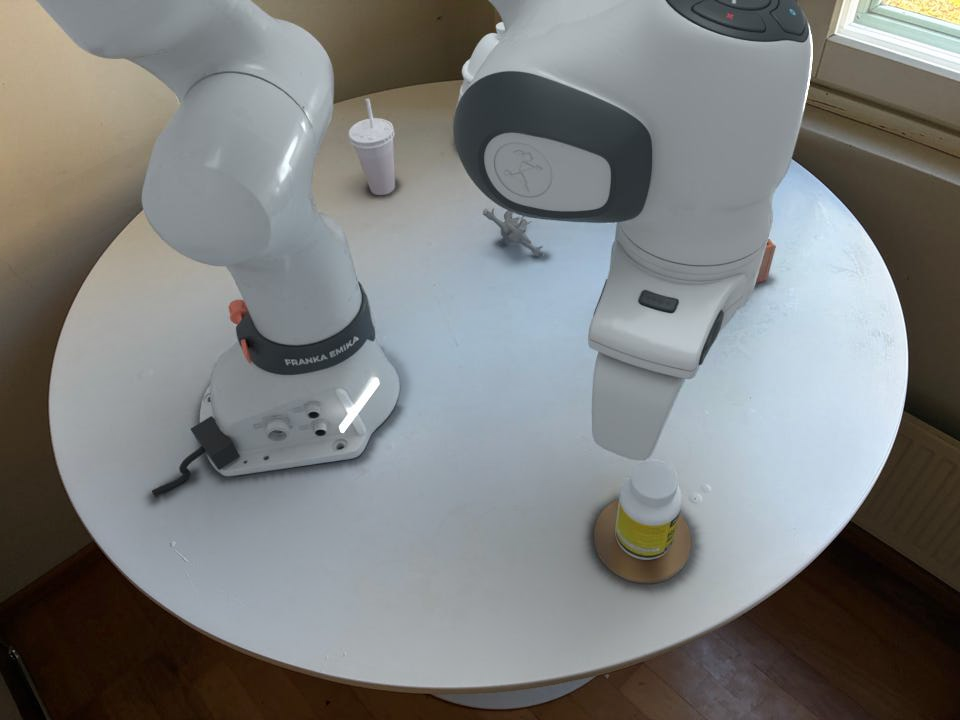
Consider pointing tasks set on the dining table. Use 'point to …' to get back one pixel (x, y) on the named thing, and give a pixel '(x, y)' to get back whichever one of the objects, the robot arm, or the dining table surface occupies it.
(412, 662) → the dining table surface
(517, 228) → the grey creature figurine
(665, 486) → the supplement bottle
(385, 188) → the smoothie
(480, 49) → the honey pot
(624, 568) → the coaster
